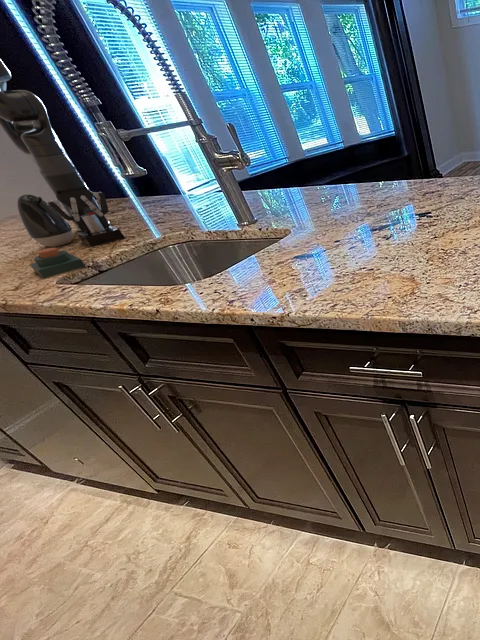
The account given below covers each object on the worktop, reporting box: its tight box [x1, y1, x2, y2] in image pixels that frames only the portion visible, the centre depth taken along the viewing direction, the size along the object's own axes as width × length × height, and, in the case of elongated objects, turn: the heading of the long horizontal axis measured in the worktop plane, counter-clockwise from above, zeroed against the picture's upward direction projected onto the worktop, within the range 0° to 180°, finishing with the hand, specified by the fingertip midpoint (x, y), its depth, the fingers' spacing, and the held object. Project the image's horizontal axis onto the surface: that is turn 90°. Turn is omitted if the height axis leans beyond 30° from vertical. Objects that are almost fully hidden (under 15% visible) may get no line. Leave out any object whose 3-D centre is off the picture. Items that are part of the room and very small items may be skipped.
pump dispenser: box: [16, 193, 74, 248], centre depth 133 cm, size 10×10×15 cm
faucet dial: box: [79, 212, 106, 233], centre depth 134 cm, size 4×4×5 cm
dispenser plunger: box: [36, 247, 60, 258], centre depth 113 cm, size 4×4×2 cm
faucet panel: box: [76, 225, 125, 248], centre depth 136 cm, size 10×9×3 cm
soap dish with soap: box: [29, 250, 86, 279], centre depth 114 cm, size 10×9×4 cm
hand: (97, 230), depth 135 cm, fingers closed on faucet dial, 4 cm apart
